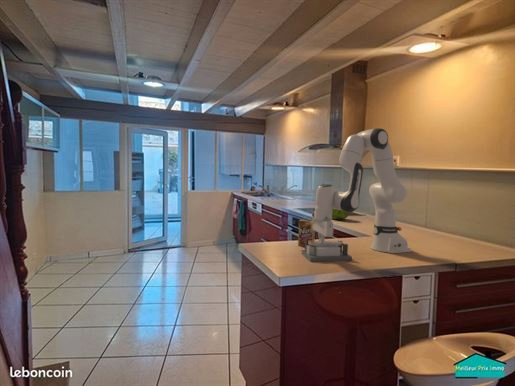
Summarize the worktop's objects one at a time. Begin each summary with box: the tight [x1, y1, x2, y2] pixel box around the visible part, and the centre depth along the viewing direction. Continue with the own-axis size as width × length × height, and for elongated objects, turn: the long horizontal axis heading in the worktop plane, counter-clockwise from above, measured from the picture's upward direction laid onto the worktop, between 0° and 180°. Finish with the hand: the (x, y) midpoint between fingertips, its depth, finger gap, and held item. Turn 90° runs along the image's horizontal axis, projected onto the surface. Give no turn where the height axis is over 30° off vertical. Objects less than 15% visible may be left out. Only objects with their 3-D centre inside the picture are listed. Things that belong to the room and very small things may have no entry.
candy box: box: [297, 219, 316, 248], centre depth 187 cm, size 9×4×15 cm, turn 56°
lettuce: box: [332, 209, 350, 221], centre depth 293 cm, size 17×23×17 cm
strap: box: [308, 240, 344, 247], centre depth 165 cm, size 18×4×2 cm, turn 100°
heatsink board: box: [301, 238, 353, 262], centre depth 166 cm, size 22×14×9 cm, turn 100°
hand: (321, 242), depth 165 cm, fingers closed, pressing on strap
